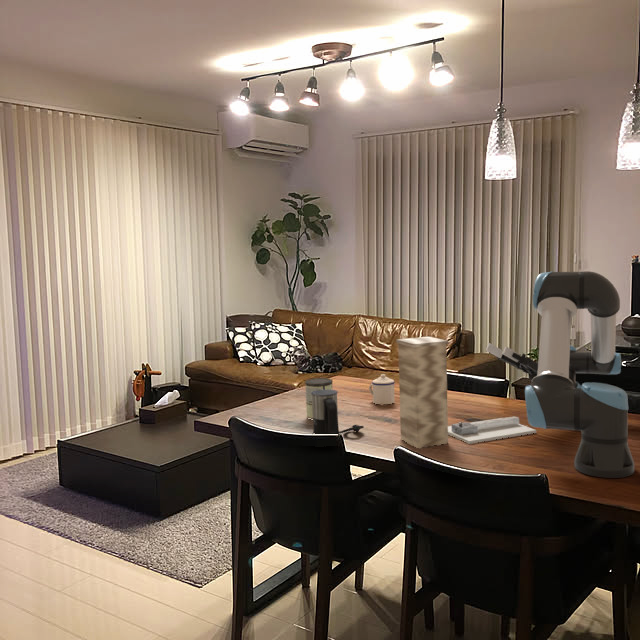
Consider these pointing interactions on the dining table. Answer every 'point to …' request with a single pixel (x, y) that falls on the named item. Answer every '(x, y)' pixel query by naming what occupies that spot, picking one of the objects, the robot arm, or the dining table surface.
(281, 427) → the dining table surface
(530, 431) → the mat
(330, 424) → the milk frother
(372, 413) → the dining table surface
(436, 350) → the beige zigzag tall box
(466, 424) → the brushed metal bar
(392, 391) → the teacup with lid
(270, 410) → the dining table surface
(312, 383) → the coffee can
